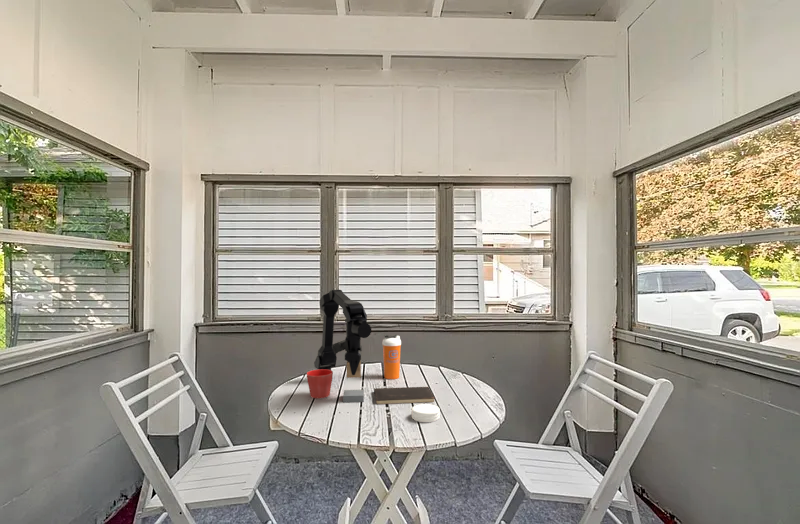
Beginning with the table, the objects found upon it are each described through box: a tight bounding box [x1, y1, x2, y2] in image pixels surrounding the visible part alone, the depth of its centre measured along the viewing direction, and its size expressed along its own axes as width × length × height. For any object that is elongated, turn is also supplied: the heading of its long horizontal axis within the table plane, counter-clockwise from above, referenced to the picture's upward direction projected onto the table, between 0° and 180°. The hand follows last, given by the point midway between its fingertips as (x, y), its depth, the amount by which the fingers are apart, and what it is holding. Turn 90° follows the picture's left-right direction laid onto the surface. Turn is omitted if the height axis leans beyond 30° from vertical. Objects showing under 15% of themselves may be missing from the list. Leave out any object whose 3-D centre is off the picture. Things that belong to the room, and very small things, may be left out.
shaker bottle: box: [381, 333, 402, 380], centre depth 212 cm, size 9×9×20 cm
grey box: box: [342, 389, 365, 403], centre depth 180 cm, size 8×8×2 cm
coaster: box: [411, 403, 441, 423], centre depth 159 cm, size 10×10×4 cm
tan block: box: [346, 359, 362, 379], centre depth 180 cm, size 6×6×6 cm
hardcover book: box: [373, 386, 436, 405], centre depth 182 cm, size 16×23×2 cm
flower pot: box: [306, 369, 334, 400], centre depth 184 cm, size 11×11×10 cm
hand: (353, 373), depth 180 cm, fingers closed on tan block, 5 cm apart
